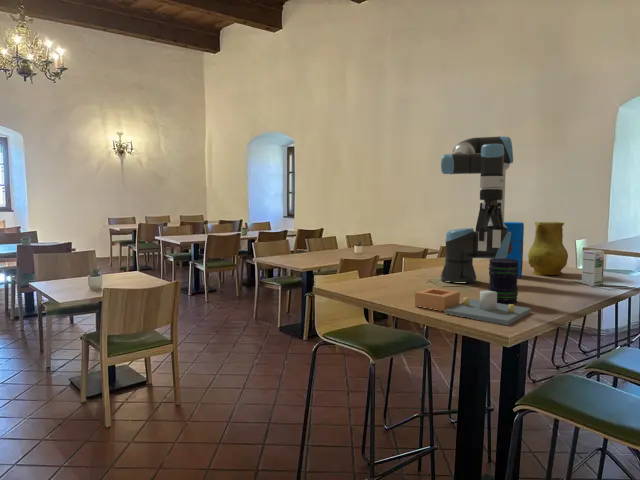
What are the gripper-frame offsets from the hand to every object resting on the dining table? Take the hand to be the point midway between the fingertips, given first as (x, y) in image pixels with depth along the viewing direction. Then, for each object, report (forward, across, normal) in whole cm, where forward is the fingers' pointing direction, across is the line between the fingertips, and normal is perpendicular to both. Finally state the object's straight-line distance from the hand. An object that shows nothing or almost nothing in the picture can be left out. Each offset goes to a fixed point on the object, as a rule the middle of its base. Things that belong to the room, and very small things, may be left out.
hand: (489, 249), depth 168 cm
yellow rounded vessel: (+18, +76, -1) cm, 78 cm away
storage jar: (+19, +4, -4) cm, 20 cm away
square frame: (+19, -18, +11) cm, 28 cm away
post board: (+19, -16, -6) cm, 26 cm away
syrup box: (+18, +60, -22) cm, 67 cm away
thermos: (+18, +60, +12) cm, 63 cm away
